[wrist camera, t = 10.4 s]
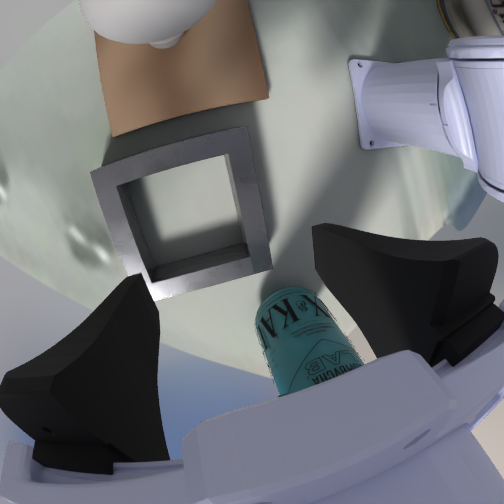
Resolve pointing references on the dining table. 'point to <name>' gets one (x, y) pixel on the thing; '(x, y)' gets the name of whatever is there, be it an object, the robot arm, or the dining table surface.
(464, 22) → the apothecary jar
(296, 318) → the beverage bottle
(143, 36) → the lightbulb
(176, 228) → the dining table surface
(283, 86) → the dining table surface
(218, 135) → the holder frame
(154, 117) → the walnut pad
